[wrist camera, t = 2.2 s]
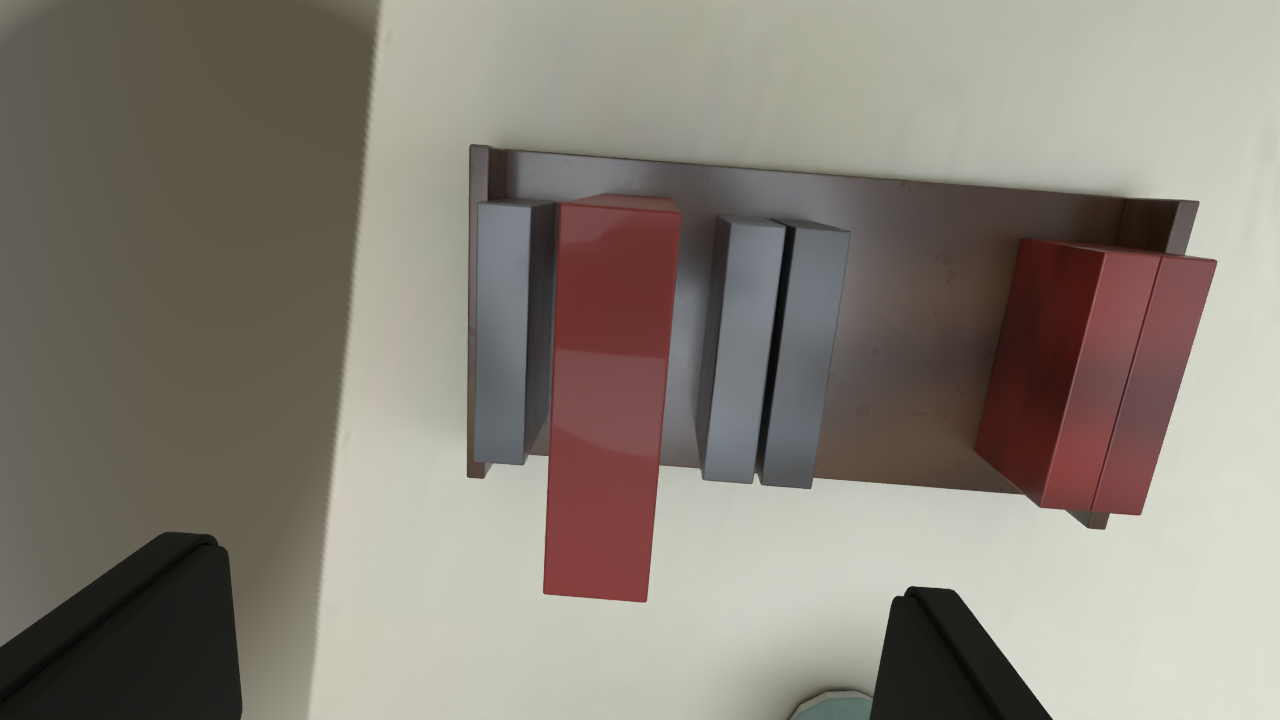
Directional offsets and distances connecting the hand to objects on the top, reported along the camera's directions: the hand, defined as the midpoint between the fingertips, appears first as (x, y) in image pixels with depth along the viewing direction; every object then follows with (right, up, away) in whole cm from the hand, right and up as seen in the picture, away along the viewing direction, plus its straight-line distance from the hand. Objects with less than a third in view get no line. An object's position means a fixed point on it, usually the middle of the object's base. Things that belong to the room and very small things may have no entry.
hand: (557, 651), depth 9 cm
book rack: (+8, +6, +22) cm, 24 cm away
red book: (+1, +6, +21) cm, 22 cm away
